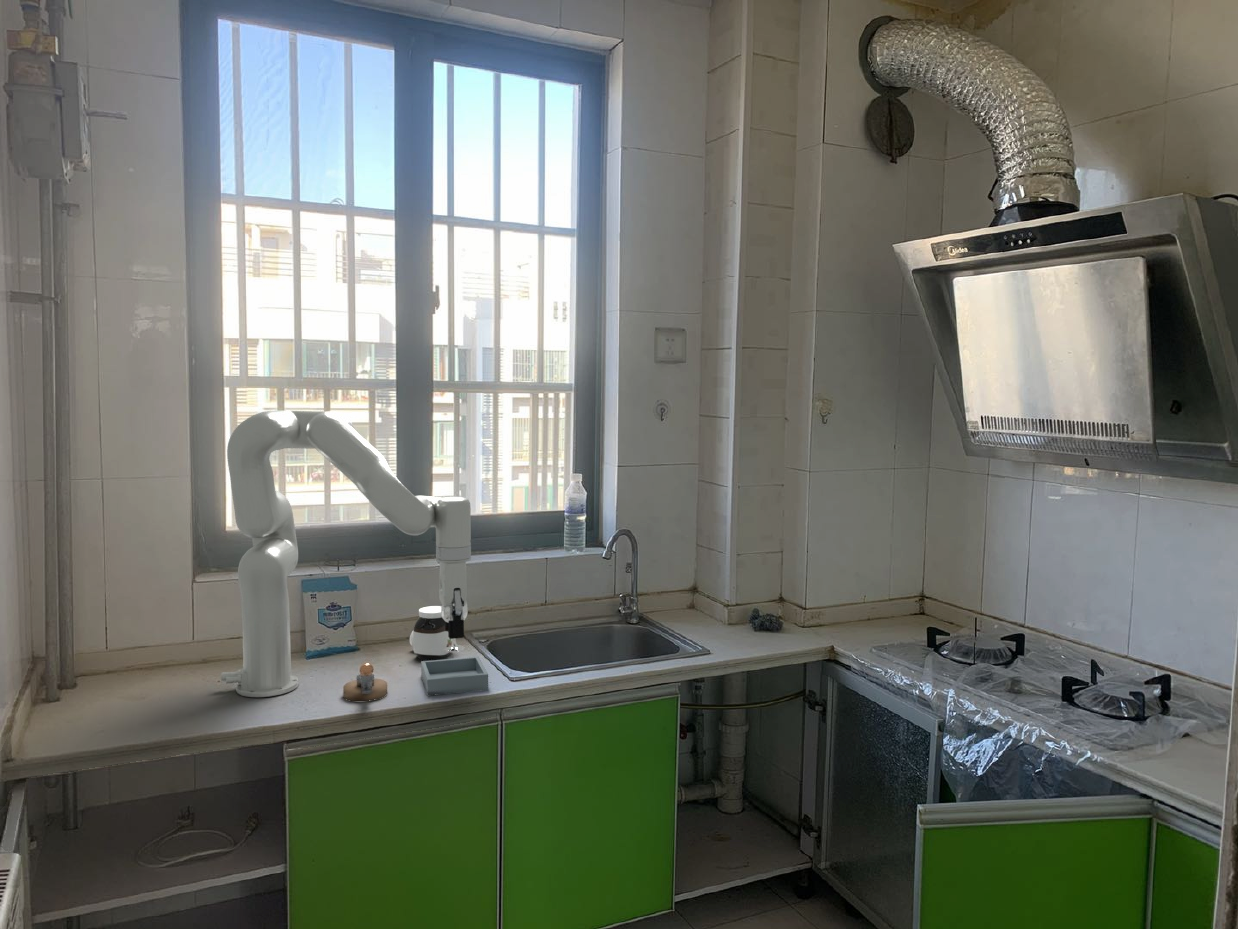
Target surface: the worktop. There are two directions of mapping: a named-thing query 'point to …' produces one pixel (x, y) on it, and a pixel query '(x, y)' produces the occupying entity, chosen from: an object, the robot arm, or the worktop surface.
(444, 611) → the wineglass
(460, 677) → the tray
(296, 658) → the worktop surface
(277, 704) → the worktop surface
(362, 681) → the crank
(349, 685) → the crank base
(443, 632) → the spread jar
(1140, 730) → the worktop surface
